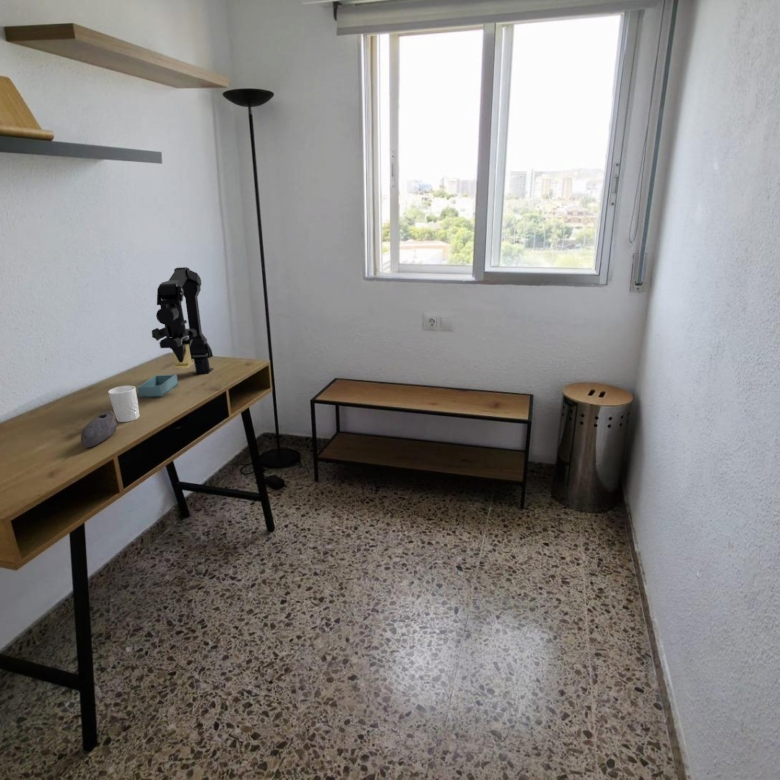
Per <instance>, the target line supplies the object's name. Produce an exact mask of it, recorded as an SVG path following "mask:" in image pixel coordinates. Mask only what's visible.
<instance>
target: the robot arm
mask: <svg viewBox="0 0 780 780" xmlns="http://www.w3.org/2000/svg"><path fill="white" fill-rule="evenodd" d="M173 270H174V271H173V273H172V275H171V276H170V277H169V279H168V280H166V281H163V282H161V283H160V284H159V285H158V287H157V290H156V291H157V294H156V306H160V308H159V309H157V312H156V315H155V316H156V319H157V321H158V322H159V324H162V325H164V327H162V328H159V327H156V328H154V329H152V330H151V333H150V334H151V338H153V339H155V340H156V342H157V341H159V343H158V344H159V348H160V349H171V351H172V350H173V351H172V353H173V352H174V353H175V355H176V357H177V359H178V360H179V362H183V358H184V350H185V344H189V349H190V355H191V360H193V362H194V364H193V365H194V369H195V370H194V371H193V372H192V375H199V374H200V375H201V374H205V375H206V374H210V372H212V371H213V370H214V367H211V365H210V359H211V358H212V357H214V354H213V350H212V347H211V346H210V343H208V338H206V336H205V335H204V334H203V331H202V324H201V317H200V314H201V313H200V308H199V301H198V299H199V298H198V297H199V294H200V292H201V290H202V289H201V288H202V287H201V286H202V279H201V276H200V275H199V274H198V273H197V272H196V271H194V270H191V269H190V268H189V267H187V266H183V267H181V266H180V267H175V268H174V269H173ZM184 298H185V306H186V313H187V319H185V317H184V311H183V306H182V302H183V301H184ZM187 323H188V328H186V324H187Z"/></svg>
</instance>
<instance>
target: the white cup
mask: <svg viewBox="0 0 780 780" xmlns="http://www.w3.org/2000/svg"><path fill="white" fill-rule="evenodd" d="M107 393H108V396H109V399H110V404H111V406H112V409H113V414H114V416H115V418H116V419H115V420H116V422H119V423H128V422H132V421H135V420H137V419H139V418H140V410H139V408H140V407H139V399H138V395H137V394H138V393H137V388H136V386H134V385H121V386H116V387H113V388H111V389H109V390H108V392H107Z"/></svg>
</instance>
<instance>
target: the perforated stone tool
mask: <svg viewBox="0 0 780 780" xmlns="http://www.w3.org/2000/svg"><path fill="white" fill-rule="evenodd" d="M114 416H115V413H114V411H111V410H106V411H104V412H103V413H102V412H101V414H99V415H96V417H94V418H93V419H92V420H90V421H89V423H87V425H85V427H84V428H83V429H82V432H81V435H80V441H81V444H82V445H83V447H86V448H92V447H95V446H97V445H99V444H100V442H101V443H102V442H105V441H106V440H107V439H109V438H111V436H112V435H113V434H114V433H115V432H116V431H117V427H118V423H117V420H116V419H115V418H116V417H114Z"/></svg>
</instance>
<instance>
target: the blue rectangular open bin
mask: <svg viewBox="0 0 780 780" xmlns="http://www.w3.org/2000/svg"><path fill="white" fill-rule="evenodd" d="M178 381H179V380H178V376H177V374H160V375H158V374H155V375H153V376H152V377H151V378H149V379H147V380H146V381H145V382H143V383H142V384H140V385H139V386H137V392H138V396H139V398H140V399H143V398H147V399H148V398H163V397H164V396H165V395H166V394H168V393H169V392H170V391H172V390H173V389H174V388H176V387H177V386H178V385H179V382H178Z"/></svg>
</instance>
